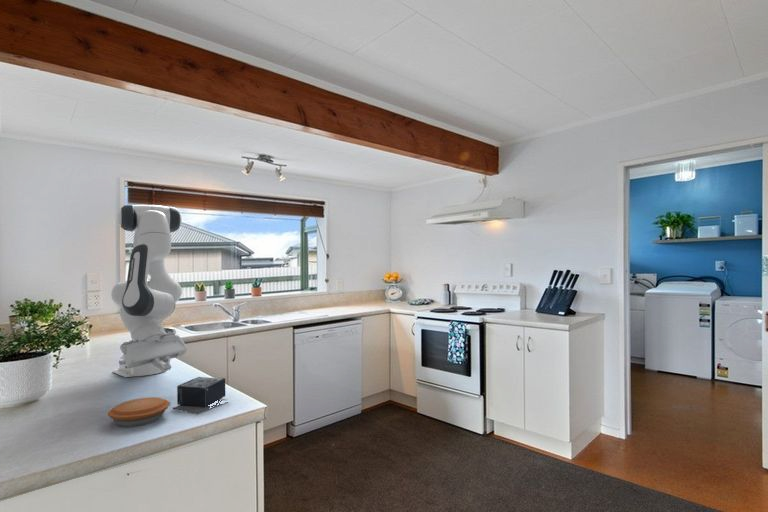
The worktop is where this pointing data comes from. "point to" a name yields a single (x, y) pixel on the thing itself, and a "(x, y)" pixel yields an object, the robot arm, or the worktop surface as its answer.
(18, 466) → the worktop surface
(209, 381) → the small box
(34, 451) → the worktop surface
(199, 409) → the rubber mat
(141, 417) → the pie
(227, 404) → the worktop surface
